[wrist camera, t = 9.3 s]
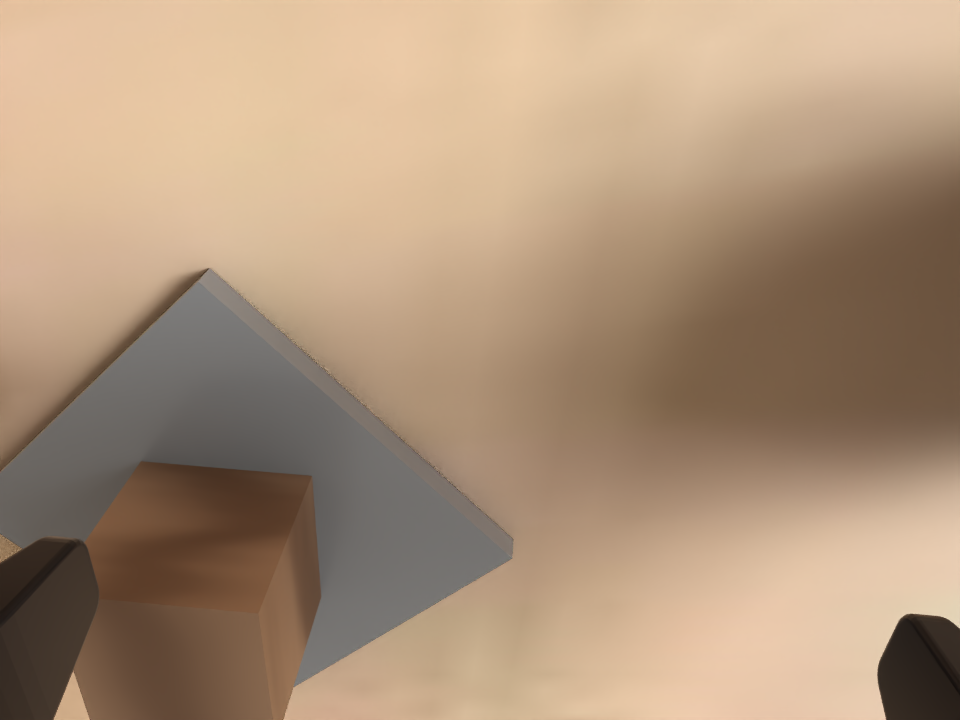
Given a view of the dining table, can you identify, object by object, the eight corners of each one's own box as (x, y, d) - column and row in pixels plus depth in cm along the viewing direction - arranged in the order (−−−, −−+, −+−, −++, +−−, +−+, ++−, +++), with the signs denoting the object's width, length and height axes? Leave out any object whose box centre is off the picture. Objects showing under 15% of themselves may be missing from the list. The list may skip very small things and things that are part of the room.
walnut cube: (312, 475, 23) (258, 613, 18) (321, 597, 25) (276, 742, 21) (141, 461, 23) (48, 594, 18) (167, 583, 25) (91, 724, 21)
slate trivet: (513, 539, 24) (512, 558, 24) (266, 687, 29) (259, 706, 28) (209, 268, 20) (197, 281, 20) (-22, 491, 25) (-38, 508, 24)
